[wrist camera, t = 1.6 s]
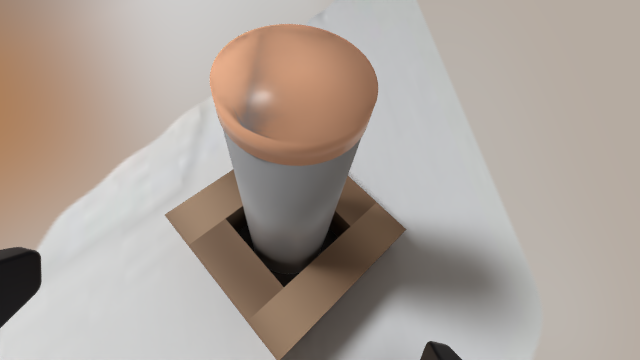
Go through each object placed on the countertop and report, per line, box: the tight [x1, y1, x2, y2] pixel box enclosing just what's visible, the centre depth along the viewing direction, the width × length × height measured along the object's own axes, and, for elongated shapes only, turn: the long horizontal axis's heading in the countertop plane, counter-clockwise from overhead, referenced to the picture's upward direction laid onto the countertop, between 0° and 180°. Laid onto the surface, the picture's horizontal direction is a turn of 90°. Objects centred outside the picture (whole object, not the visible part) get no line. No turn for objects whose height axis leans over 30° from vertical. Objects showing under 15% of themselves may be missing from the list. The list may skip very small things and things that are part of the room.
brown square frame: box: [165, 169, 406, 360], centre depth 20 cm, size 10×10×3 cm
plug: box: [210, 24, 378, 274], centre depth 15 cm, size 5×5×14 cm
